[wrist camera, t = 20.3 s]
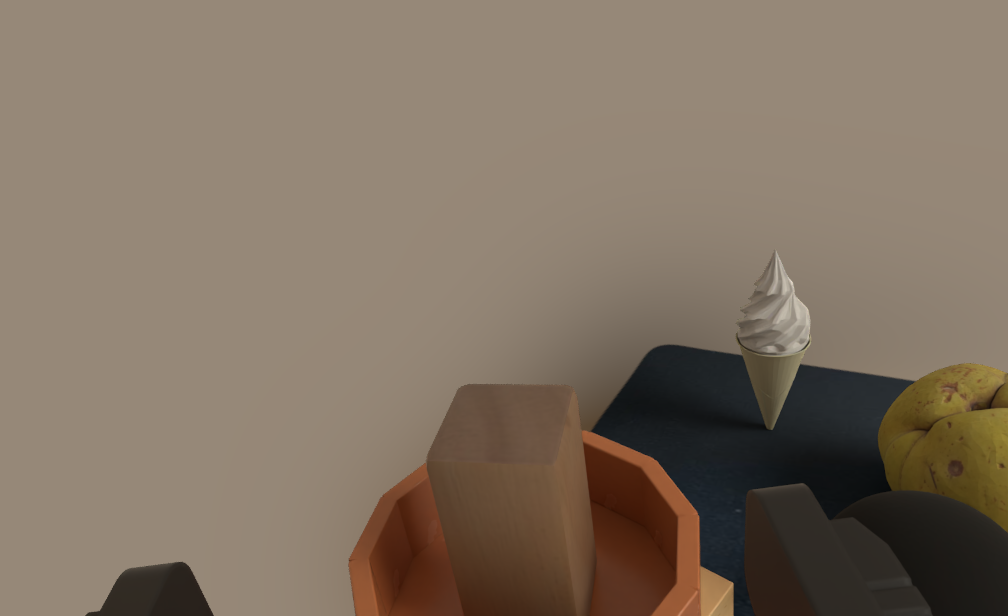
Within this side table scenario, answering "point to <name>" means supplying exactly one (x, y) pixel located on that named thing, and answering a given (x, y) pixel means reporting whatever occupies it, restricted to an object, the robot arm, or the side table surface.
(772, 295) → the ice cream cone
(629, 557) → the pan
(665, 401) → the side table surface
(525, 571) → the wooden block
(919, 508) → the decorative ball
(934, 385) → the fruit
